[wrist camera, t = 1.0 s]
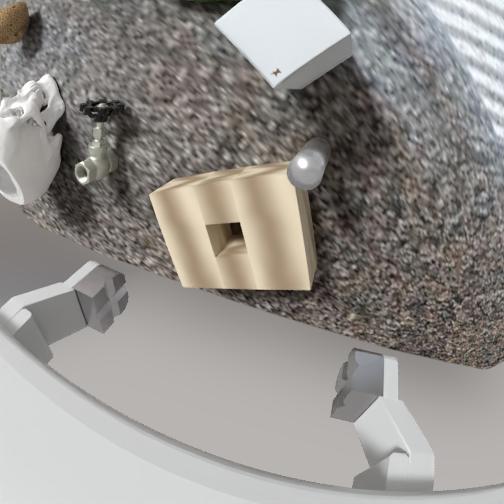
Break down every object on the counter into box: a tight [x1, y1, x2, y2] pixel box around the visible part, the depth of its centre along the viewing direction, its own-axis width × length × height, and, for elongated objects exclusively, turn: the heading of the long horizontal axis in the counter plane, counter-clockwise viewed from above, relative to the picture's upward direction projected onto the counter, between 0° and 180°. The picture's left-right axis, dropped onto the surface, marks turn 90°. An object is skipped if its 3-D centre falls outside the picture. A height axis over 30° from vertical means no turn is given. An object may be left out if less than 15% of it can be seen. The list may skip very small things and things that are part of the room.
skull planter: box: [0, 74, 65, 205], centre depth 38 cm, size 14×20×19 cm
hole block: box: [149, 161, 318, 290], centre depth 37 cm, size 18×14×6 cm
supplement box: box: [215, 0, 352, 89], centre depth 21 cm, size 7×7×13 cm
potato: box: [0, 2, 30, 44], centre depth 26 cm, size 9×9×10 cm
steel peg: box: [287, 137, 331, 190], centre depth 28 cm, size 3×3×10 cm
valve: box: [75, 99, 125, 185], centre depth 37 cm, size 7×7×12 cm
